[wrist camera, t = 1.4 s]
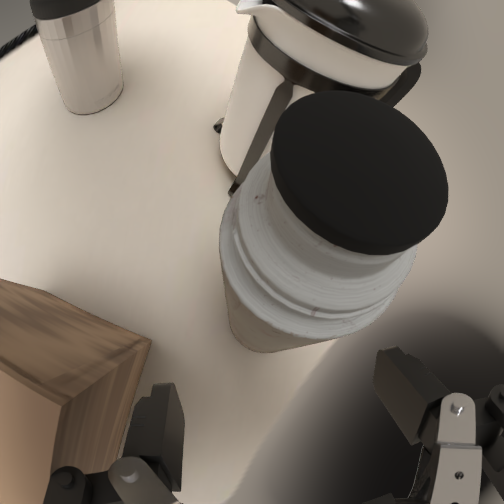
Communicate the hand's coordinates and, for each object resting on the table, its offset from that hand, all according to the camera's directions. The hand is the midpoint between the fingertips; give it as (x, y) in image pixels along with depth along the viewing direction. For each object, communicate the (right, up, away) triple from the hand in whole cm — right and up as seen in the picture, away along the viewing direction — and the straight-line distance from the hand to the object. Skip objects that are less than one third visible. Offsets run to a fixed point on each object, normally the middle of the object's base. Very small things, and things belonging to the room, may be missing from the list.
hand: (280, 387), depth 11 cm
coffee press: (+1, +18, +28) cm, 33 cm away
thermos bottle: (0, -2, +22) cm, 23 cm away
